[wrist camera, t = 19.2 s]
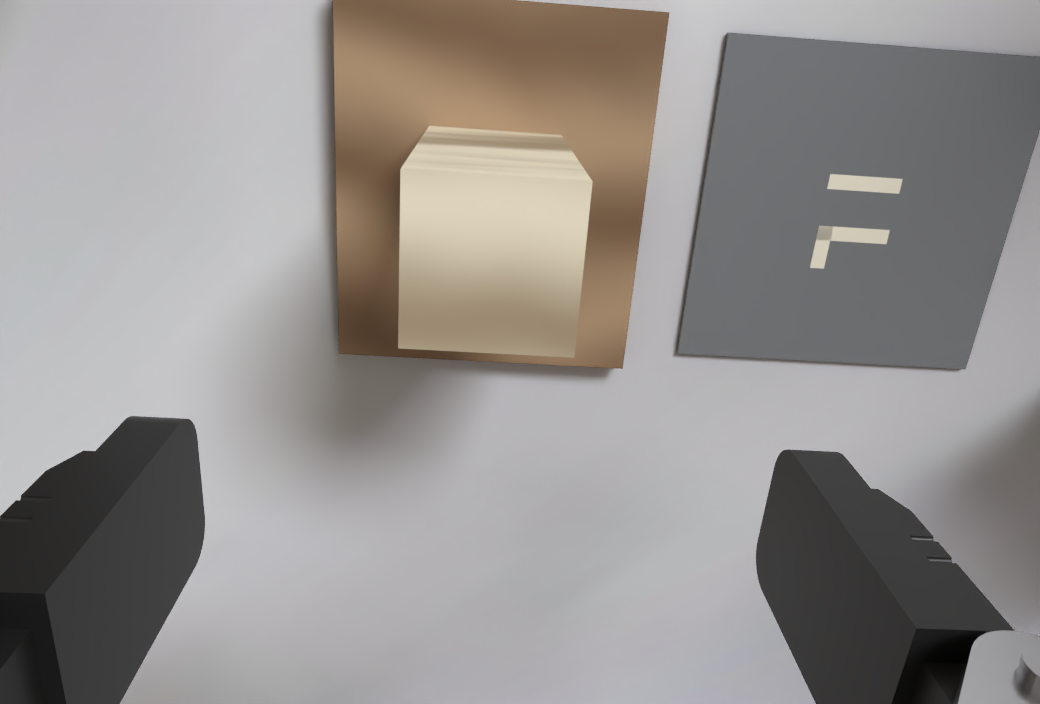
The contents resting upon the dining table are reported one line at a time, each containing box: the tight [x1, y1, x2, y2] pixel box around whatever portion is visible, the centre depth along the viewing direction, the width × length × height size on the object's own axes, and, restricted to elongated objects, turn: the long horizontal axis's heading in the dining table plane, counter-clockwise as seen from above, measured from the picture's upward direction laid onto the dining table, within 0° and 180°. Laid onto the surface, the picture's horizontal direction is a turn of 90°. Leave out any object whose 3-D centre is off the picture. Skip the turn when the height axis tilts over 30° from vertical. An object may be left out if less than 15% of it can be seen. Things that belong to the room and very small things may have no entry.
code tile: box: [677, 33, 1040, 369], centre depth 32 cm, size 13×13×1 cm
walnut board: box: [333, 0, 669, 369], centre depth 31 cm, size 14×12×1 cm
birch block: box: [398, 126, 593, 358], centre depth 26 cm, size 5×5×10 cm
